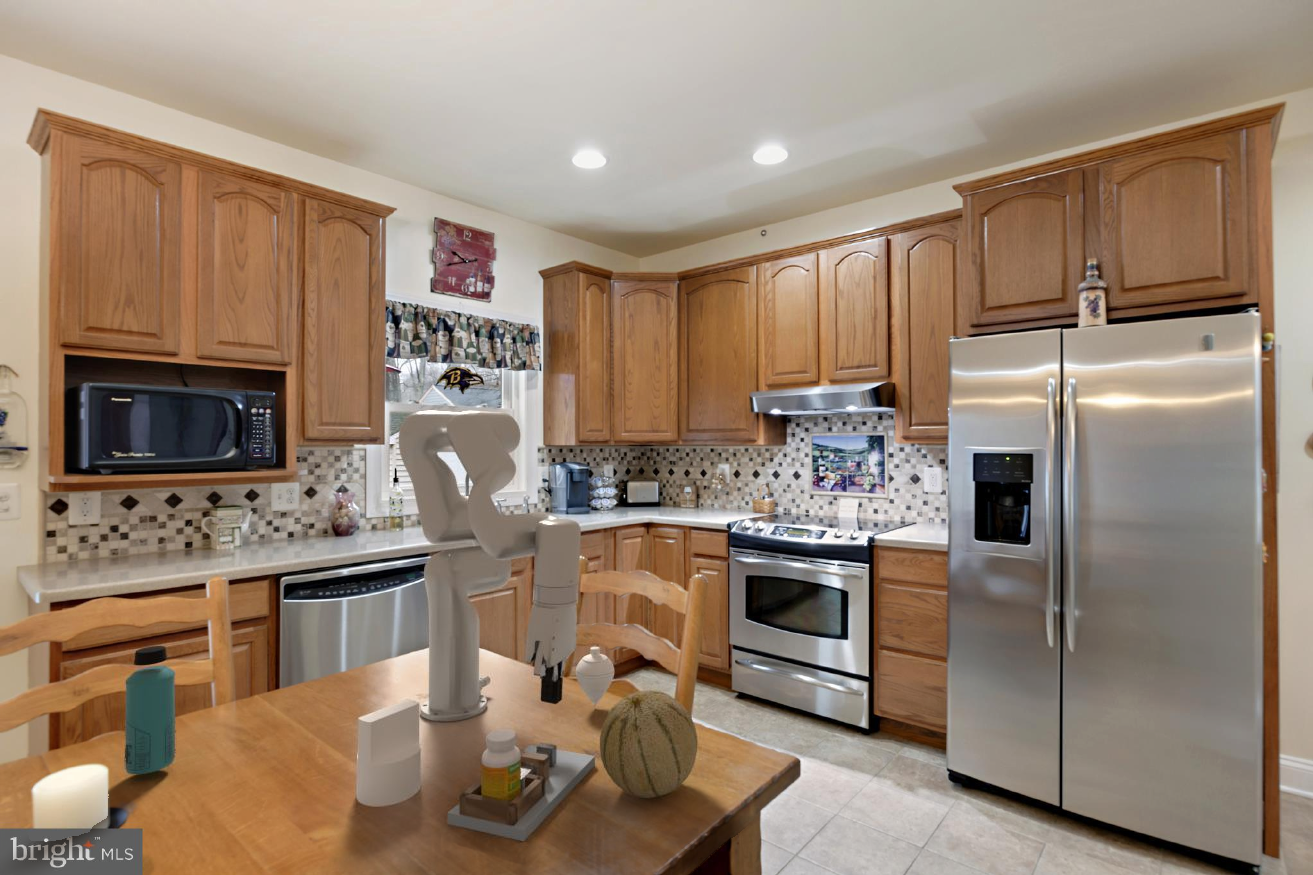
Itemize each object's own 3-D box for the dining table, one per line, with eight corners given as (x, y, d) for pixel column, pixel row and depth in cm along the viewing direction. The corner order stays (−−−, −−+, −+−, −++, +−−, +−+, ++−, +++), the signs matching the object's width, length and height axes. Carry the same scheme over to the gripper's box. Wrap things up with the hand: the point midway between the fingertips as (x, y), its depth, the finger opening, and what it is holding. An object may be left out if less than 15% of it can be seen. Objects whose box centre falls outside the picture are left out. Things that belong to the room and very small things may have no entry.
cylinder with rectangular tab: (381, 813, 93) (382, 727, 93) (343, 795, 97) (344, 714, 98) (433, 785, 100) (433, 706, 101) (395, 770, 105) (396, 695, 105)
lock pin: (540, 759, 105) (540, 742, 105) (556, 762, 104) (556, 744, 104) (505, 791, 95) (505, 771, 95) (522, 794, 94) (522, 774, 94)
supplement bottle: (512, 816, 89) (512, 744, 89) (474, 813, 90) (475, 742, 90) (526, 796, 94) (526, 728, 94) (490, 793, 95) (490, 725, 95)
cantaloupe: (711, 778, 102) (711, 682, 103) (675, 828, 89) (675, 716, 89) (626, 760, 108) (626, 669, 109) (581, 804, 95) (581, 699, 95)
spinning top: (568, 712, 128) (568, 650, 128) (587, 698, 135) (587, 640, 135) (603, 718, 125) (603, 655, 125) (620, 704, 132) (620, 644, 133)
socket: (494, 784, 98) (494, 767, 98) (545, 794, 95) (545, 776, 95) (459, 814, 90) (459, 795, 90) (513, 826, 87) (513, 807, 87)
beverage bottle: (185, 768, 106) (187, 643, 106) (141, 788, 99) (143, 655, 100) (157, 762, 108) (159, 639, 108) (112, 781, 101) (114, 651, 102)
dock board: (530, 753, 111) (530, 724, 111) (594, 765, 107) (595, 734, 107) (447, 823, 90) (447, 787, 90) (523, 841, 86) (523, 803, 86)
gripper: (557, 581, 119) (552, 681, 119) (512, 600, 104) (507, 714, 105) (594, 586, 116) (590, 688, 116) (554, 607, 102) (549, 723, 102)
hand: (551, 700), depth 111 cm, fingers closed
